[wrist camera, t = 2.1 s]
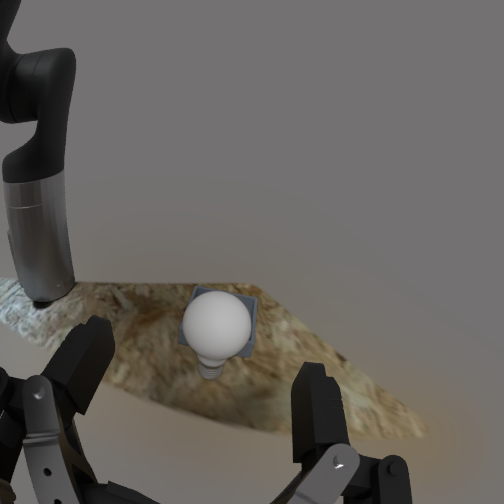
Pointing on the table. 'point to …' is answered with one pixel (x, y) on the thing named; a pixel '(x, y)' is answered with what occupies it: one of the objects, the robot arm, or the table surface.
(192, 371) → the table surface
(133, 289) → the table surface
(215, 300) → the lightbulb
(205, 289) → the walled box
